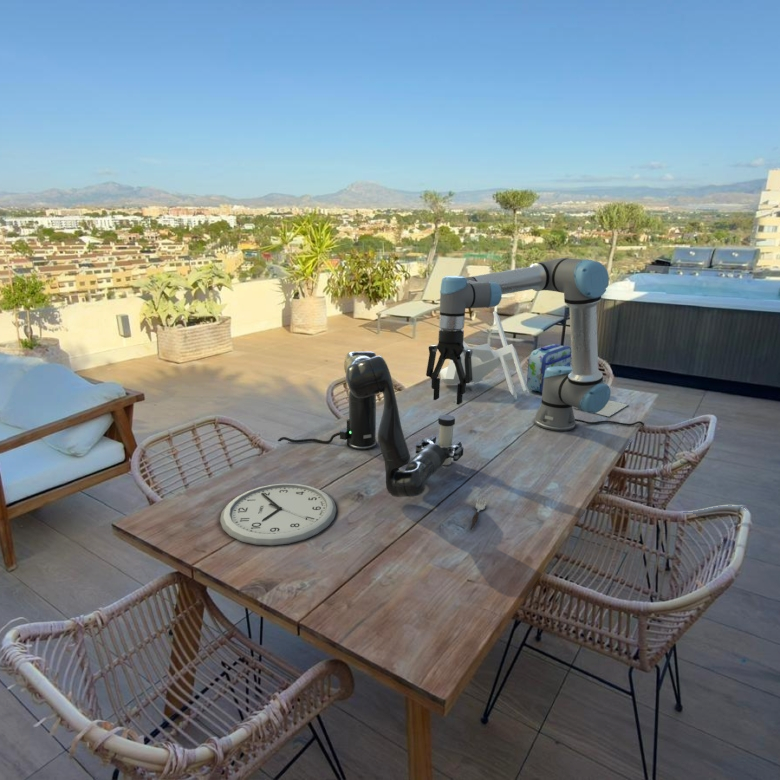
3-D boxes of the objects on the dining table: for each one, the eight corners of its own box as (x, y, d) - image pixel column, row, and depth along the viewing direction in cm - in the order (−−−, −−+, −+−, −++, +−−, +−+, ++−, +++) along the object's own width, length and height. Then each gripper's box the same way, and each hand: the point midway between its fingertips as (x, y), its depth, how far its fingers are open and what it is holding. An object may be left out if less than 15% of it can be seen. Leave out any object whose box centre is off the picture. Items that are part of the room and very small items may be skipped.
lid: (450, 419, 169) (450, 413, 169) (457, 425, 165) (458, 419, 164) (435, 421, 168) (435, 415, 167) (442, 427, 163) (443, 421, 162)
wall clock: (335, 537, 125) (206, 541, 122) (335, 543, 125) (207, 547, 123) (337, 479, 154) (232, 481, 151) (337, 484, 154) (233, 486, 151)
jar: (447, 458, 173) (449, 415, 168) (453, 464, 169) (455, 420, 164) (435, 460, 171) (437, 417, 167) (441, 466, 168) (443, 421, 163)
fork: (465, 530, 132) (466, 523, 131) (477, 500, 146) (478, 494, 146) (475, 532, 131) (476, 525, 130) (487, 502, 145) (487, 496, 145)
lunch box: (543, 396, 238) (548, 352, 231) (522, 391, 245) (526, 347, 239) (570, 385, 255) (575, 343, 249) (550, 381, 262) (555, 340, 256)
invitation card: (608, 416, 214) (573, 407, 224) (608, 416, 214) (573, 408, 224) (628, 404, 229) (594, 396, 238) (628, 405, 229) (594, 397, 238)
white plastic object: (461, 429, 252) (437, 405, 227) (444, 352, 274) (420, 323, 250) (535, 404, 240) (518, 377, 215) (510, 326, 262) (492, 293, 237)
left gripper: (451, 453, 152) (468, 435, 166) (407, 444, 158) (427, 427, 172) (450, 477, 154) (467, 456, 168) (406, 467, 160) (426, 448, 174)
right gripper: (487, 330, 155) (482, 403, 162) (426, 323, 165) (424, 392, 172) (478, 334, 149) (473, 410, 156) (416, 327, 159) (413, 398, 166)
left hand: (447, 441), depth 170 cm, fingers open, 8 cm apart
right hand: (447, 401), depth 164 cm, fingers open, 7 cm apart
